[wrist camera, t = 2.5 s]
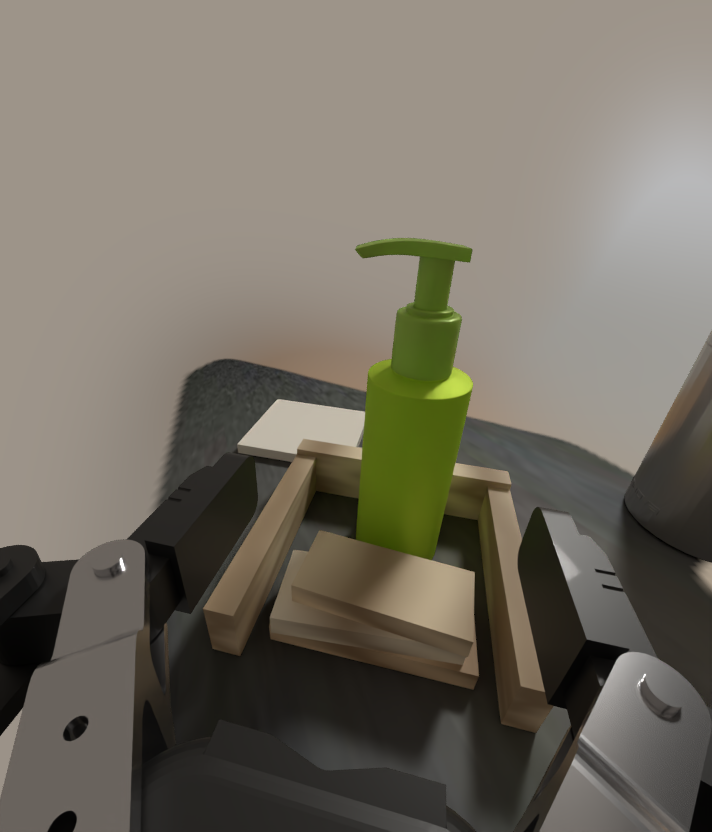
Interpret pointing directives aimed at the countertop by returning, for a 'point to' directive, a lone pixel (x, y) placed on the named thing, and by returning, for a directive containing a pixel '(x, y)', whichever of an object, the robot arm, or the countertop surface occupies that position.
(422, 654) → the offcut stack
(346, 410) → the cream tile
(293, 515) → the pine rack
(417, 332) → the soap dispenser
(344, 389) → the countertop surface
